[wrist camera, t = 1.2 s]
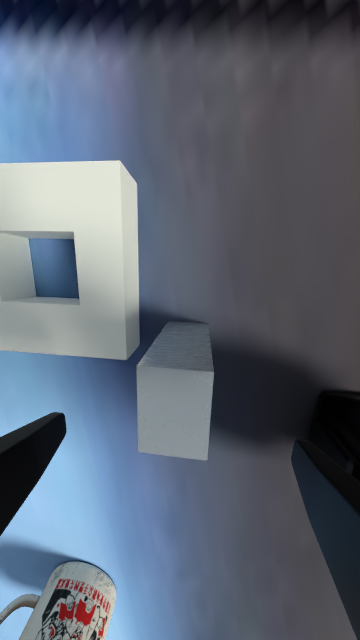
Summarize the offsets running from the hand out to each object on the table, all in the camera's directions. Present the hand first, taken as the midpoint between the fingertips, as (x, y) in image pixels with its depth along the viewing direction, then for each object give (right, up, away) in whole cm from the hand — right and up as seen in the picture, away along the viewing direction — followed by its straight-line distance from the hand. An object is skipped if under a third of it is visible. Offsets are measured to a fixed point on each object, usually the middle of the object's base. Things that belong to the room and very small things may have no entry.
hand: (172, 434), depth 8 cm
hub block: (-9, +8, +8) cm, 15 cm away
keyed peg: (+1, +2, +9) cm, 9 cm away
